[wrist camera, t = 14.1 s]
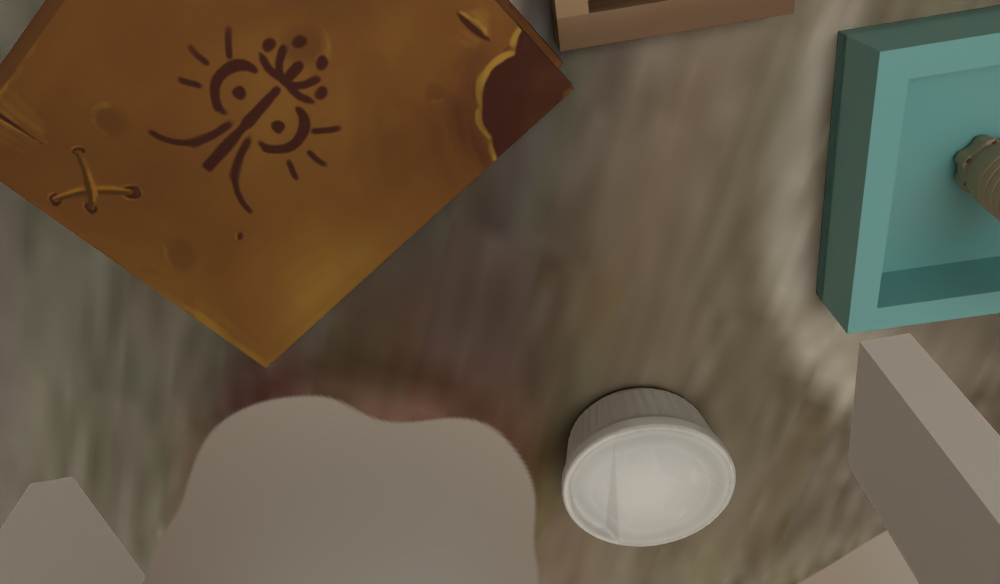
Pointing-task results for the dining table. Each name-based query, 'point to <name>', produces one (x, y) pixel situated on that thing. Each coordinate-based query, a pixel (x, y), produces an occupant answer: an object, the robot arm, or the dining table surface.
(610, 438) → the ramekin
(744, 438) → the dining table surface
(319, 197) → the diary
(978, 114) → the parts tray
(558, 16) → the socket
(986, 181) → the handle
